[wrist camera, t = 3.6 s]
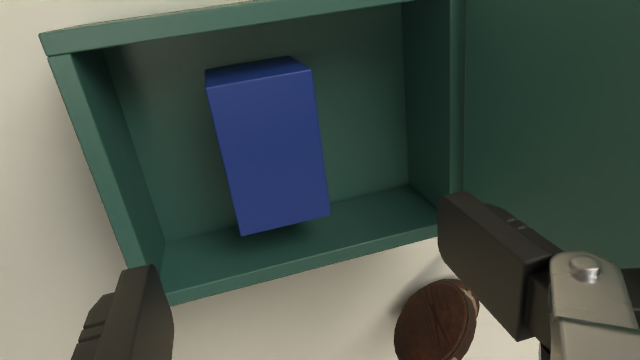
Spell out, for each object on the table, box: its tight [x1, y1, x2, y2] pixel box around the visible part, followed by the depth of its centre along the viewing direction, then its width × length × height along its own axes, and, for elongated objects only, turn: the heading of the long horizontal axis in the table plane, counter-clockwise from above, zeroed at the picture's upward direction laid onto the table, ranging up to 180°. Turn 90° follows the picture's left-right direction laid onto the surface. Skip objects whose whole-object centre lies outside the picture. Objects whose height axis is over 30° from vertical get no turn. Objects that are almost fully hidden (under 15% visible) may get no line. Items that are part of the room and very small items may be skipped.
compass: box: [394, 279, 480, 360], centre depth 29 cm, size 8×8×7 cm
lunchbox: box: [38, 0, 467, 306], centre depth 21 cm, size 17×13×6 cm
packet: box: [204, 56, 331, 236], centre depth 21 cm, size 4×7×5 cm, turn 7°
